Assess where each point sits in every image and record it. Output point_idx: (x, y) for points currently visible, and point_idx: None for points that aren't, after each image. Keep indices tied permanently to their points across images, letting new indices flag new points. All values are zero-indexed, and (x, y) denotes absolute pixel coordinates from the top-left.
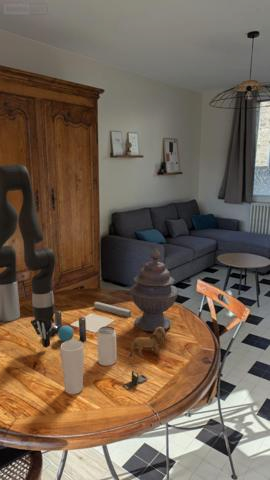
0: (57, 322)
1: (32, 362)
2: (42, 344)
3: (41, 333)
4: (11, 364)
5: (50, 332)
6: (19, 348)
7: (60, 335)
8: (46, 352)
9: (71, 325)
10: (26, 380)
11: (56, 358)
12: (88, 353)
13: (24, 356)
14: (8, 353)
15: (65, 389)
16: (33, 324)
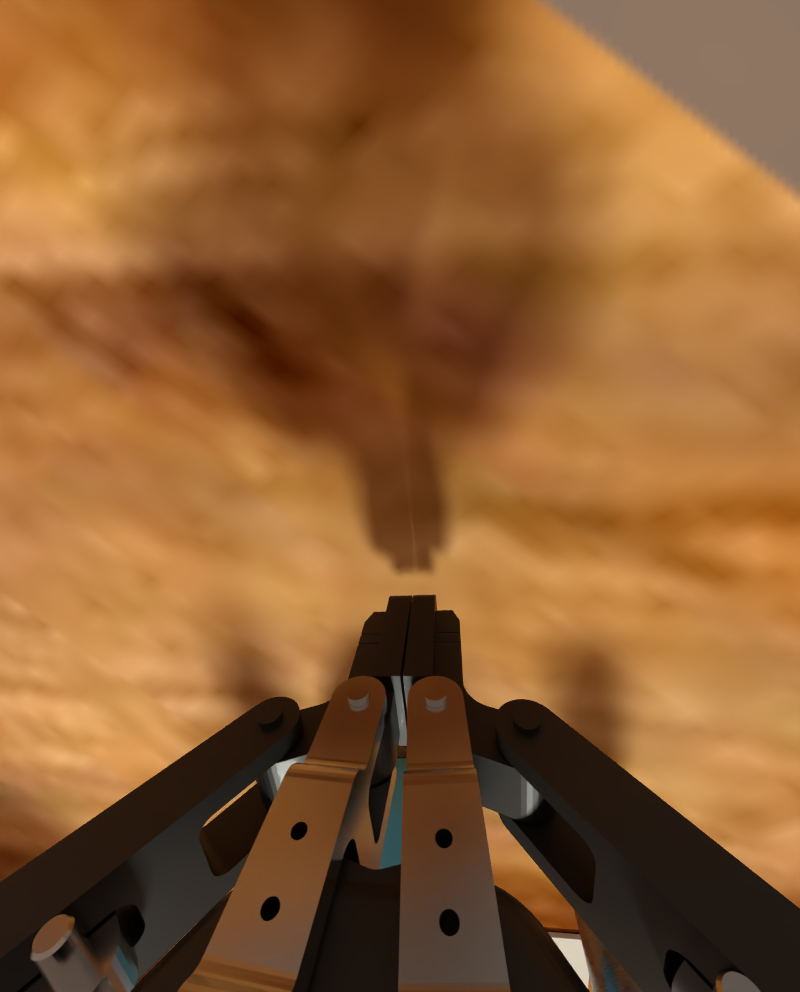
0: (619, 982)
1: (324, 350)
2: (434, 609)
3: (429, 746)
4: (499, 125)
5: (128, 835)
6: (730, 448)
7: (391, 812)
8: (380, 564)
9: (573, 934)
10: (27, 44)
11: (213, 547)
12: (108, 723)
13: (514, 371)
14: (781, 274)
15: None
16: (768, 953)
